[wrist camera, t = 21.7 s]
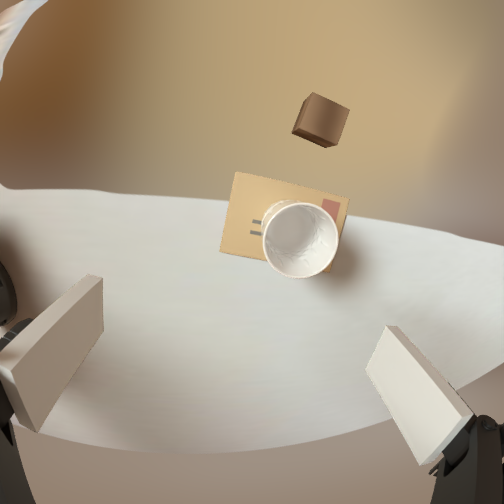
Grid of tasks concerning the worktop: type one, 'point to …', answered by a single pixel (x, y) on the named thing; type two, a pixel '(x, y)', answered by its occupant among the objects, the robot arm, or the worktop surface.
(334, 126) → the walnut block
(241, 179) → the envelope
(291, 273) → the white cup
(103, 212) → the worktop surface
